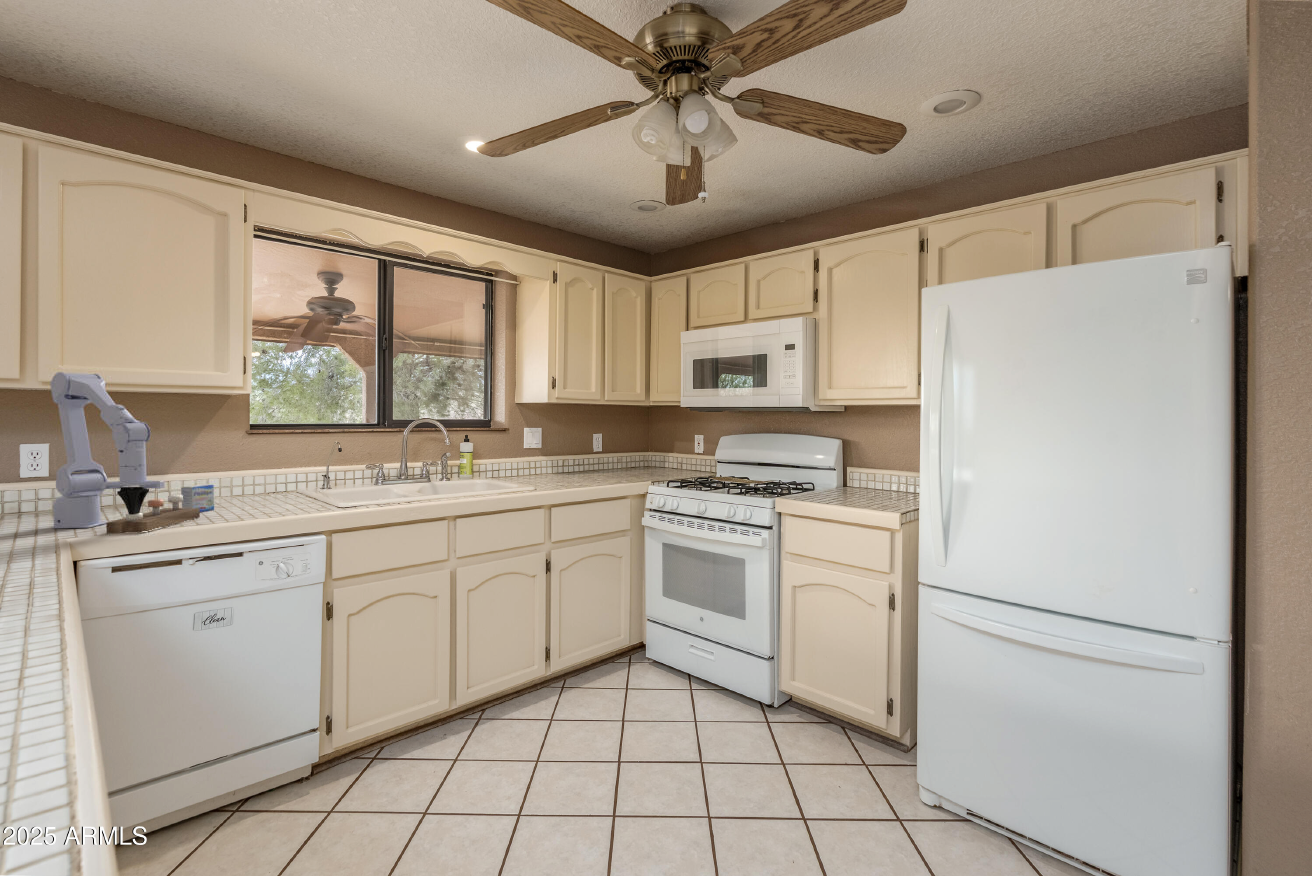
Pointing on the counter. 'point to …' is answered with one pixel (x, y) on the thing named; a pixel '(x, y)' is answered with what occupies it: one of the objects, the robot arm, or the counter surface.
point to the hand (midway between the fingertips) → (134, 514)
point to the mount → (153, 520)
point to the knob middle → (156, 505)
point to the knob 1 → (134, 517)
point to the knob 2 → (175, 501)
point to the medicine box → (198, 497)
